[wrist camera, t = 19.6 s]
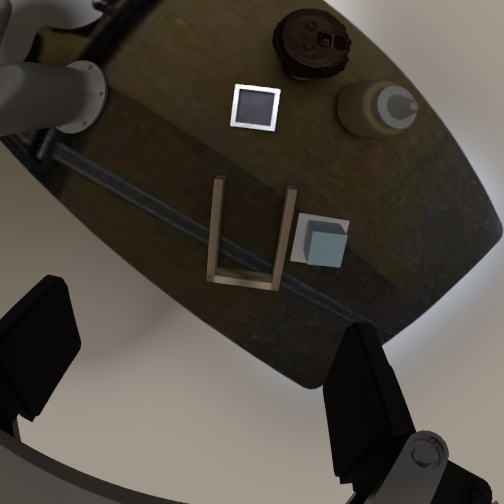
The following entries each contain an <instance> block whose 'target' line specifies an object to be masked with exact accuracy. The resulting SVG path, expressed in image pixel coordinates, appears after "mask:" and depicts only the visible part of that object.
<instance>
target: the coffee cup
mask: <svg viewBox="0 0 504 504" xmlns="http://www.w3.org/2000/svg"><path fill="white" fill-rule="evenodd" d="M345 29H346V27H345V26H344V25H343V24H341V23H340V22H339V21H338V20H337V19H336V18H335V17H334V16H332V15H330V13H328V12H327V11H324V10H319V9H300V10H297V11H293V12H291V13H290V14H288V15H287V16H285V17H284V18H283V19H282V20H281V21H280V22H279V23H278V25H277V26H276V28H275V31H274V33H273V47H274V49H275V51H276V53H277V57H278V61H279V65H280V67H281V69H282V71H283V72H284V73H285V75H286V76H287V77H288V78H290V79H292V80H296V81H300V82H305V81H309V80H312V79H316V78H328V77H331V76H334V75H336V74H338V73H340V71H343V70H344V67H345V66H346V64H347V62H348V61H349V58H348V57H347V54H348V52H349V51H350V48H349V47H350V45H351V44H352V42H351V40H350V39H349V36H348V34H347V33H346V31H345Z"/></svg>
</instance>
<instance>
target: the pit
mask: <svg viewBox="0 0 504 504" xmlns="http://www.w3.org/2000/svg"><path fill="white" fill-rule="evenodd" d="M279 96H280V89H274V88H266V87H258V86H250V85H240V84H236V85H235V93H234V100H233V108H232V116H231V124H230V126H235V127H244V128H253V129H261V130H268V131H275V124H276V117H277V110H278V103H279Z"/></svg>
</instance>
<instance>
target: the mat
mask: <svg viewBox="0 0 504 504" xmlns="http://www.w3.org/2000/svg"><path fill="white" fill-rule="evenodd" d="M308 220H316V221H324V222H332V223H339V224H340V225H341V226H342V228H343V229H344V231H345V232H346V233H347V229H348V225H349V221H348V220H342V219H336V218H330V217H324V216H318V215H312V214H306V213H299V217H298V222H297V227H296V232H295V237H294V243H293V248H292V253H291V258H290V261H296V262H304V263H307V262H306V258H305V255H304V251H303V248H304V242H305V237H306V231H307V225H308Z"/></svg>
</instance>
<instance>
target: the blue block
mask: <svg viewBox="0 0 504 504" xmlns="http://www.w3.org/2000/svg"><path fill="white" fill-rule="evenodd" d="M347 236H348V235H347V234H346V232H345V231H344V229H343V228H342V226H341V225H340V224H339V223H332V222H324V221H316V220H308V225H307V231H306V237H305V242H304V248H303V251H304V255H305V258H306V262H307V264H311V265H321V266H331V267H340V266H341V262H342V258H343V254H344V249H345V245H346V241H347Z"/></svg>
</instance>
